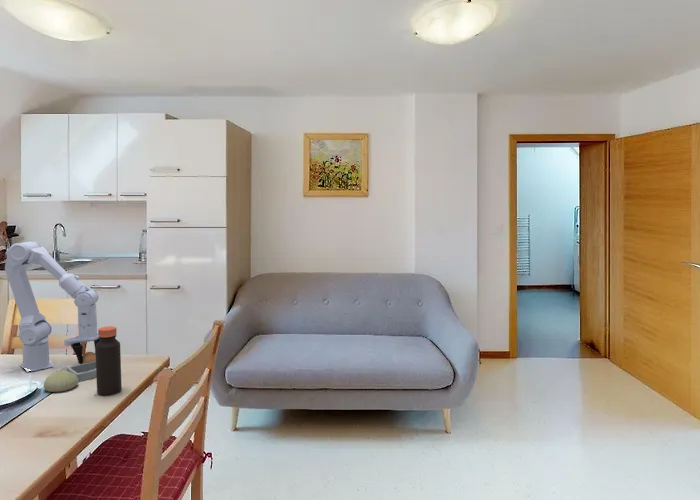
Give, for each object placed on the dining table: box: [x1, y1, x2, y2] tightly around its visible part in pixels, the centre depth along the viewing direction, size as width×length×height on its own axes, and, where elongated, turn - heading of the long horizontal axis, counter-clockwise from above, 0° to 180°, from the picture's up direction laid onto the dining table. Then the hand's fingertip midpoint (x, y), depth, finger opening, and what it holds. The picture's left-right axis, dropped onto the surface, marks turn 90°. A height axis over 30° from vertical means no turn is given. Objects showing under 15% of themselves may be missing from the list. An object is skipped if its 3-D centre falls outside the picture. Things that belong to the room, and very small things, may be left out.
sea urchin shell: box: [43, 370, 79, 393], centre depth 147 cm, size 9×8×8 cm
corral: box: [65, 361, 97, 383], centre depth 158 cm, size 10×11×2 cm
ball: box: [82, 351, 96, 364], centre depth 166 cm, size 5×5×5 cm
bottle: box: [94, 325, 123, 397], centre depth 144 cm, size 7×7×20 cm
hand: (89, 361), depth 166 cm, fingers closed on ball, 5 cm apart
